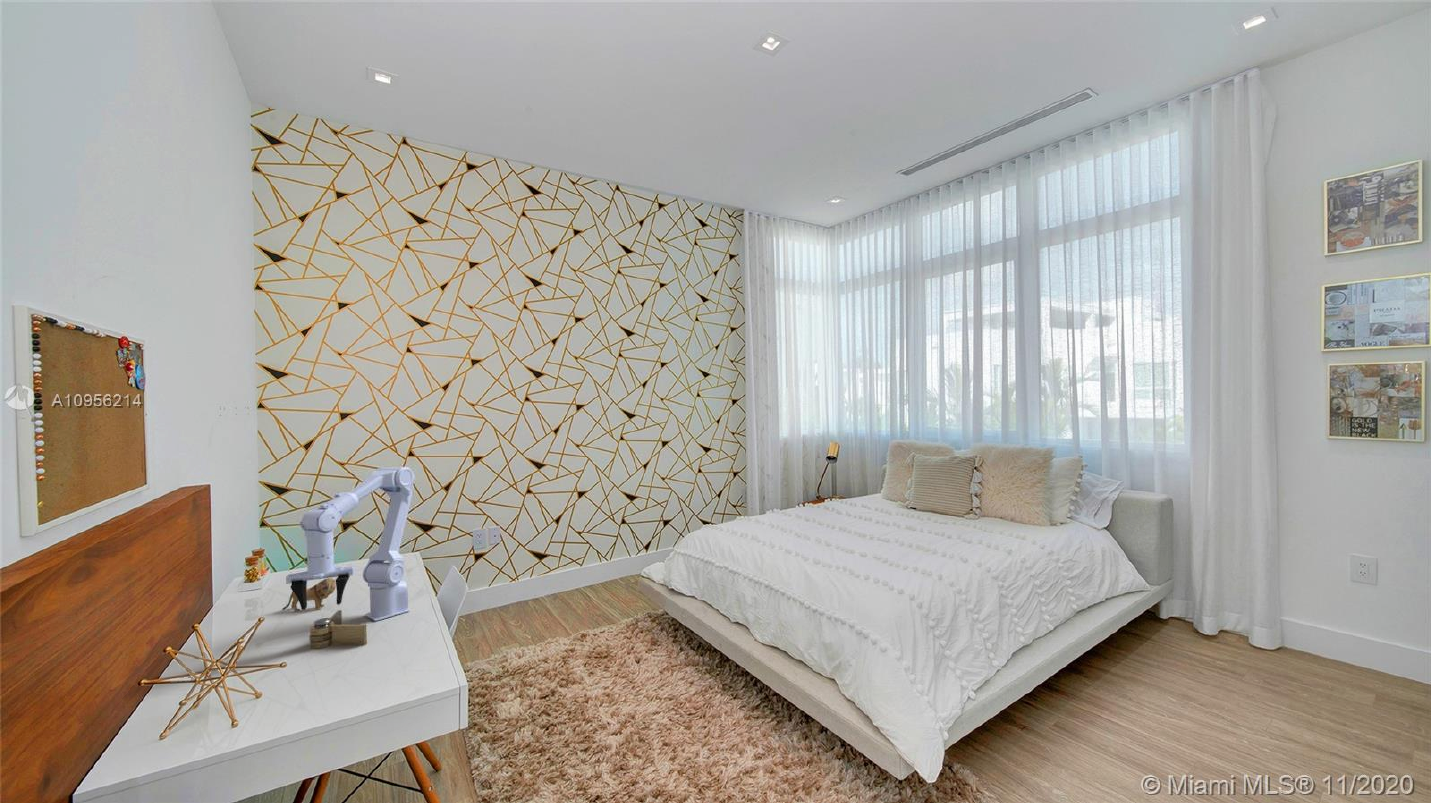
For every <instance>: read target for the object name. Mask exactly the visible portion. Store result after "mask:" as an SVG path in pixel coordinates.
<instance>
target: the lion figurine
mask: <svg viewBox="0 0 1431 803" xmlns="http://www.w3.org/2000/svg"><path fill="white" fill-rule="evenodd" d="M336 589H337V588H336V579H334V578H333V577H330V578H324V579H322V580H321V581H320V582H318V583H317V584H314V585H313V586H312V587H310V588H306V597H307V602H309V601H314V605H315V610H316V611H320V610H322V608H323V607H325V604H323V600H325V599H328V597H329V595H331V594H332V593H334V592H335V590H336ZM291 591H292V590H291ZM291 602H292V603H291ZM298 603H299V600H298V598H297V596H296V595H295V593H294V592H293V591H292V592H291V594H290V596H289V599H288V603H287V604H286V606H284V607H283V608H282V609H281V610H283V611H285V610H286V609H288V608H289V606H291V609H293V610H294V612H295V613H296V612H297V611H298V612H299V611H300V609H301V608H298V607H297V604H298Z"/></svg>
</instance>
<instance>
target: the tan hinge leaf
mask: <svg viewBox="0 0 1431 803" xmlns="http://www.w3.org/2000/svg"><path fill="white" fill-rule="evenodd" d="M329 632H332V638H329V639H327V640H324V641H316V642H313V641H310V640H309V642H310V643H309V644H310V648H311V649H314V650H315V649H317V650H318V649H322V648H326V647H329V646H366V645H367V644H368V642H367V640H368V639H367V638H368V637H367V635H368V634H367V624H342V625H334V622H333V621H331V622H330V623H328V626H326V627H322V628H317V626H314V624H313V625H311V626H310V627H309V635H310V634H311V635H322V634H326V633H329Z"/></svg>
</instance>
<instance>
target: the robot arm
mask: <svg viewBox="0 0 1431 803" xmlns="http://www.w3.org/2000/svg"><path fill="white" fill-rule="evenodd" d="M415 479H416V475H415V474H414V472H413V470H412V469H411V468H410V467H408V466H402V467H401V466H399V467H396V466H391V467H390V466H389V467H387V466H380V467H378V468H376V469H375V470H373V471H371V473H370V475H369V476H368V477H367V478H365V479H364V480H363V481H362V482H360V483H359V484H358V485H357V486H355V487H354V488H353V489H352V490H350V491H349V492H347V491H342V492H337V493H335V494H334V497H332V498H331V499H329V500H328V501H326V502H325V503H321V504H319V507H318V508H317V509H316V508H315V509H310V510H308V511H307V512H306V513H305V514H304V515H303V517H302V519H301V521H299V525H300V528H301V529H302V530H303V531H304V536H305V538H306V565H307V568H306V569H307V571H302V572H297V573H291V574H289V573H288V575H286V577H285V583H286V585H289V584H291V585H290V589H291V591H293V592H294V593H295V595H296V596H297V598H298V600H299V601H298V603H299V605H300V609H301V610H302V611H304V610H306V609H307V607H308V601H307V597H306V589H307V585H308V581H314V580H324V579H327V578H336V579H335V583H336V588H335V589H336V605H338V606H339V605H341V604H342V600H343V597H344V596H343V595H344V592H345V589H346V586H347V584H348V581H349V578H350V577H351V576H354V574H355V566H352V565H351V566H342V567H341V566H338V567H337V566H336V567H335V550H334V547H335V545H334V530H335V529H336V528H337V526H338V525H339V522H340V521H341V520H342V519H343V518H344V517H345V516H347V515H348V514H350V512H352V511H354V510H355V509H356V508H357V507H358V504H359V503H358V502H359V501H361V500H363V499H364V498H365V497H367V496H369V495H371V494H372V493H374V492H375V491H377V490H378V489H380V490H381V491H382V492H383V493H385V494H386V495H387V496H388V497H389V499H390V503H389V506H388V509H387V514H386V518H385V521H384V525H383V530H382V534H381V537H380V542H379V545H378V549H377V551H376V552H375V553H373V554H372V555H371V556H370V557H369V559H368V562H367V563H366V565H365V567H364V568H363V572H362V578H363V580H364V582H365V583H367V586H368V587H369V607H370V609H369V610H370V611H369V612H367V613H365V614H364V616H365V617H367V618H368V619H370V620H372V621H373V622H377V621H380V620H384V619H385V620H386V619H389V618H390V617H395V616H397V615H401V614H405V613H408V612H410V609H409V590H408V585H407V583H406V580H403V577H404V573H405V570H404V568H405V567H404V565H405V558H404V557H403V556H402V555H401V554H400V553H399V551H400V547H401V543H402V539H403V535H404V531H405V526H406V522H407V519H408V515H409V511H410V510H409V509H410V506H411V503H412V502H411V501H412V497H413V488H414V483H415Z"/></svg>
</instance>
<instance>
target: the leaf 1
mask: <svg viewBox="0 0 1431 803" xmlns="http://www.w3.org/2000/svg"><path fill="white" fill-rule="evenodd" d="M342 612H343V611H342V609H339V610H337V611H336V612H334V614H333V615H331V616H330V617H329V618H331V621H333V622H334V625H343V622H342V621H343V617H342V616H343V613H342ZM329 638H332V632H329V633H326V634H323V635H311V634H310V633H309V642H310V641H313V642H316V641H324V640H326V639H329Z"/></svg>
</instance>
